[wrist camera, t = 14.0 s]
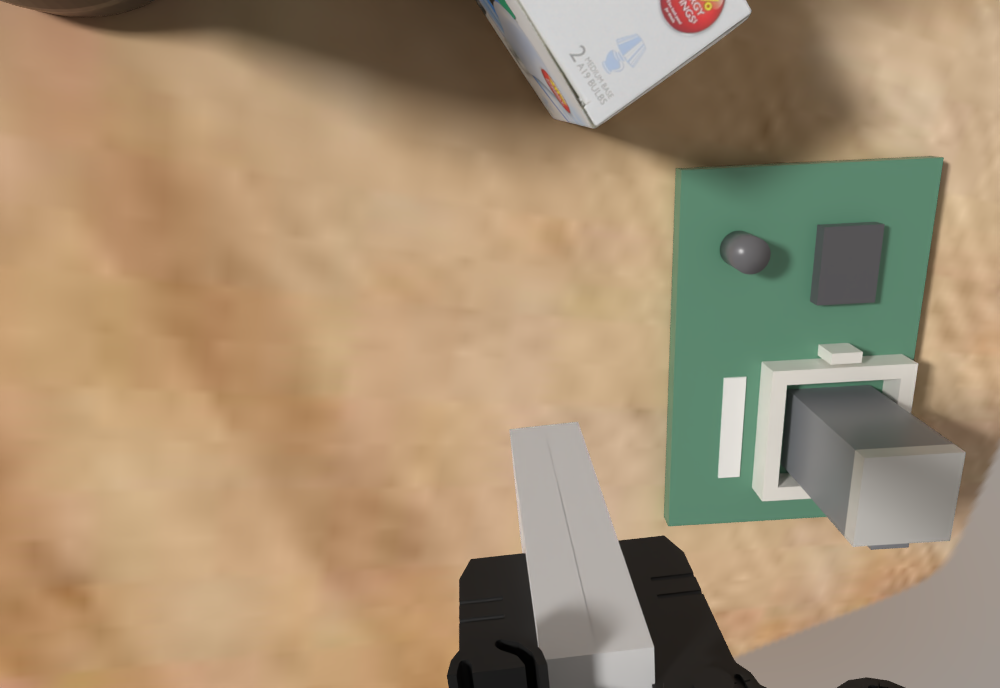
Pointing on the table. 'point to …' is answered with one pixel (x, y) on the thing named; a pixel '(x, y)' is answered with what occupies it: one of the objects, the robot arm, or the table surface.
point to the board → (785, 316)
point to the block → (871, 466)
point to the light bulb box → (606, 47)
